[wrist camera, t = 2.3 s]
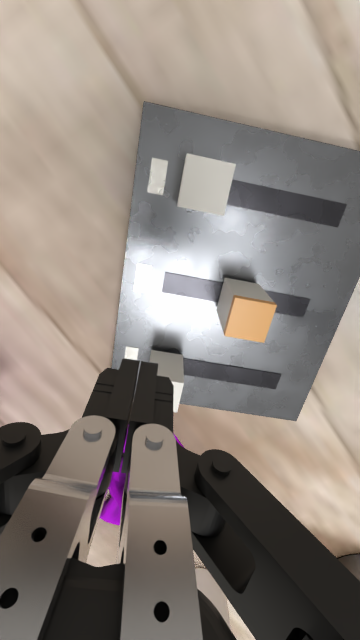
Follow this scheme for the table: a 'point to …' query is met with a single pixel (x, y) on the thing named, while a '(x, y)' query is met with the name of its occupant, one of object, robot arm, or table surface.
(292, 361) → the panel
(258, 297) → the block
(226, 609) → the candle holder
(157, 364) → the robot arm
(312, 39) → the table surface
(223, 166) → the breaker
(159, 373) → the block
